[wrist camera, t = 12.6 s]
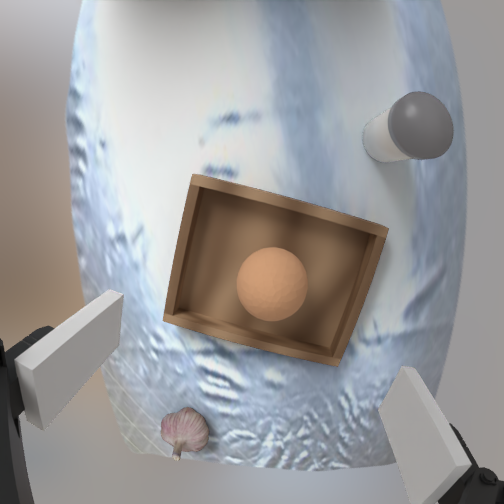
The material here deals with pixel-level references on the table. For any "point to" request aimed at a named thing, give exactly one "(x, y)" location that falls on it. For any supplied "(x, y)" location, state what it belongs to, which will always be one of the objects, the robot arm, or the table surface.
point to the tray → (264, 236)
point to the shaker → (409, 130)
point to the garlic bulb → (184, 431)
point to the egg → (272, 284)
